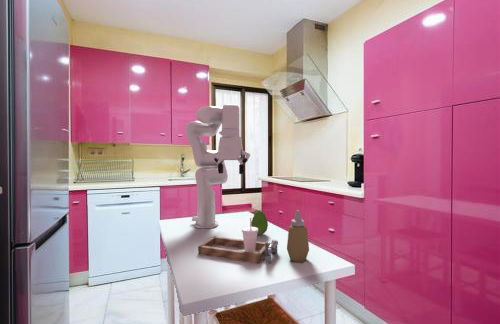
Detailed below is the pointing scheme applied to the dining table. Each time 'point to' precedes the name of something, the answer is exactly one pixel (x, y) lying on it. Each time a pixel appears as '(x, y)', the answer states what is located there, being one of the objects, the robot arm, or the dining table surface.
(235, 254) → the bay
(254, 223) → the avocado
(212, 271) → the dining table surface
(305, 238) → the squeeze bottle
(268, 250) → the grey metal handle
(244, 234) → the smoothie
